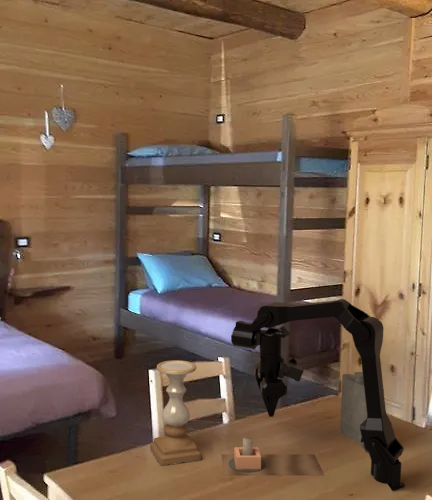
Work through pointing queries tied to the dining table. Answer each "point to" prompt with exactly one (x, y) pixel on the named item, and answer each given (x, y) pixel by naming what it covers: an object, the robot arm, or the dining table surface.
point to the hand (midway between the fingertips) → (268, 410)
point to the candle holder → (175, 418)
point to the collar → (247, 459)
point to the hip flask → (353, 406)
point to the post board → (273, 463)
